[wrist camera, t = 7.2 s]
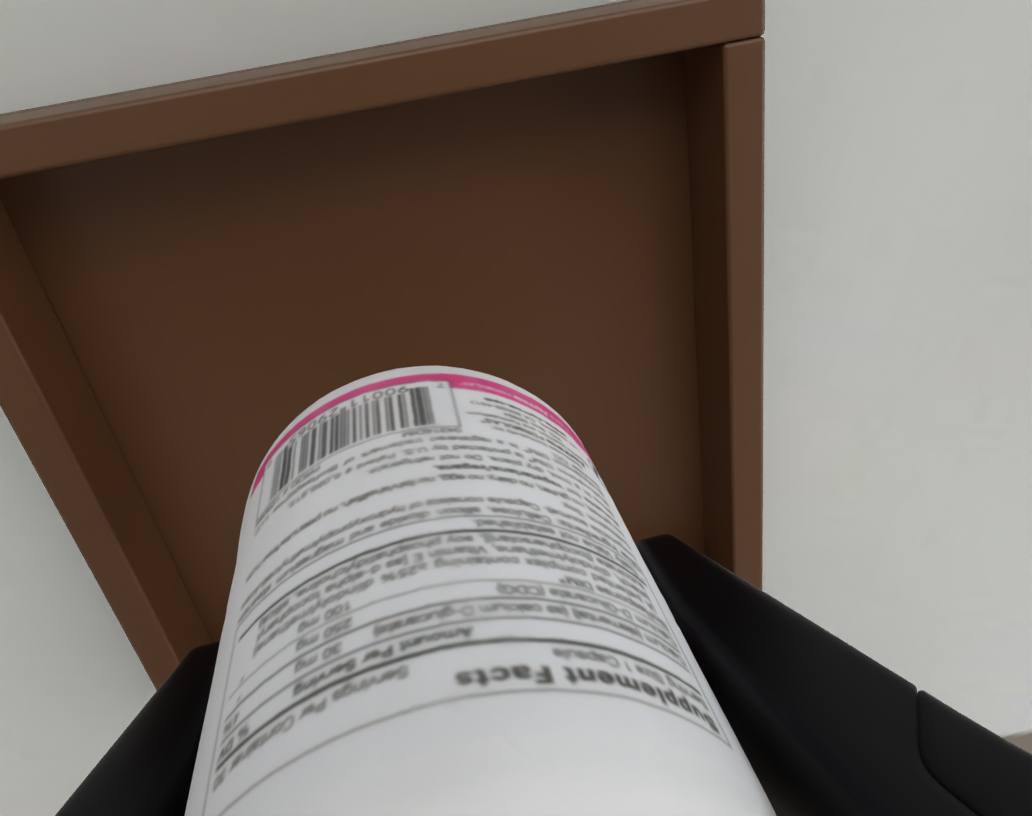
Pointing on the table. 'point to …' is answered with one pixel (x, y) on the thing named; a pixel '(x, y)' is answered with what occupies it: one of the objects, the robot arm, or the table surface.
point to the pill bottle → (452, 626)
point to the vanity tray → (390, 277)
